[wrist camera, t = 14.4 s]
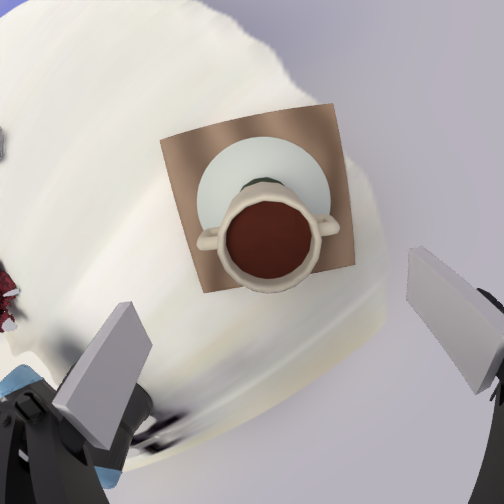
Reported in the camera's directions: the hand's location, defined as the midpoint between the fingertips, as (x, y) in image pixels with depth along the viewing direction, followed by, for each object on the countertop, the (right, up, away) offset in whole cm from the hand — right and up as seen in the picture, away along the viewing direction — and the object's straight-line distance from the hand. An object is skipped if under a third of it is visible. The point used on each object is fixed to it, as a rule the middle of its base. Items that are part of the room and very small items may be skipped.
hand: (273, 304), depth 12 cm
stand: (0, +8, +21) cm, 22 cm away
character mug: (0, +8, +19) cm, 20 cm away
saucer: (0, +8, +19) cm, 21 cm away
